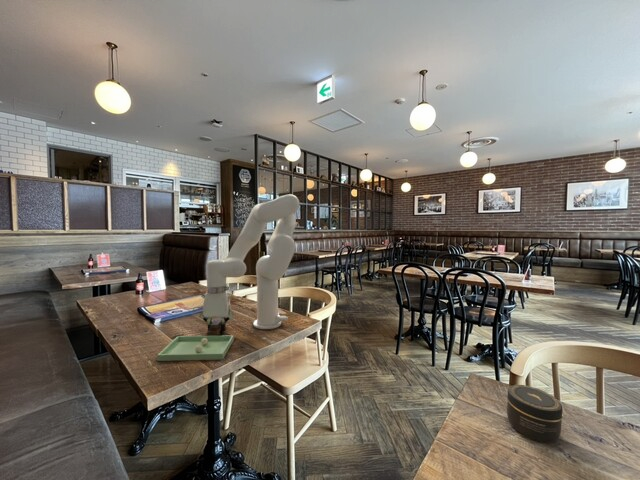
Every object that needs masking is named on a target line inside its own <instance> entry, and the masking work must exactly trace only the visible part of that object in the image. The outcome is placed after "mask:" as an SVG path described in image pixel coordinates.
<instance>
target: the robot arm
mask: <svg viewBox="0 0 640 480" xmlns="http://www.w3.org/2000/svg"><path fill="white" fill-rule="evenodd" d="M300 206H301V205H300V200H299V198H298V197H297V196H296V195H294V194H291V193H289V194H283V195H280V196H278V197H276V198H275V199H272V200H270V201H265V202H262V203H257V204H255V205H254V206H253V208H252V209H251V210H250V213H249V215H248V217H247V219H246V221H245V223H244V226H243V227H242V228H241V231H240V233H239V235H238V236H237V238H236V240H235V242H234V243H233V245H232V246H231V248H230V250H229V251H228V254H227V255H226V258H225V260H224V259H210V260H208V261H207V263H206V292H205V294H204V299H203V305H202V311H201V312H200V314H199V315H198V318H200V319H201V320H202V321H204V322H205V323H206V325H207V331H208V330H209V329H210V324H211V323H212V322H213V318H221V321H222V324H221V335H223V334H224V332H226V330H227V329H226V323H227V322H228V321H229V320H231V319H232V318H234V317H235V314H234V313H233V311H232V310H231V298H230V294H229V293H230V292H229V291H230V290H231V287H230V286H228V285H227V278H241V277H243V276H244V275H245V274H246V273H247V265H246V263H245V262H244V260H245V258H246V256H247V255H248V253H249V252H250V251H251V249H252V248H254V247H255V246H256V245H257V244H258V243H259V242H260V240H261V237H262V235H263V233H264V232H265V229H266V228H267V225H268V223H272V222H275V221H277V222H276V225H275V226H274V230H273V232H272V234H271V236H270V237H269V240H268V242H267V249H268V251H269V252H270V253H269V255H263V256H261V257H260V258H259V259H258V260H257V261H256V264H255V275H256V319H255V320H254V321H253V323H252V324H253V327H254V328H255V329H258V330H274V329H276V328H277V329H278V328H279V327H280V326H281V325H282V322H288V321H289V317H288V316H286V315H280V312H279V280H281V279H282V278H283V277H284V276H285V274H286V272H287V270H288V268H289V265H290V263H291V261H292V260H293V257H294V254H295V251H296V242H295V240H294V238H293V234H294V232H295V230H296V229H295V228H296V225H297V220H296V219H297V218H296V215H295V213H296V212H298V210H299V208H300Z"/></svg>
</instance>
